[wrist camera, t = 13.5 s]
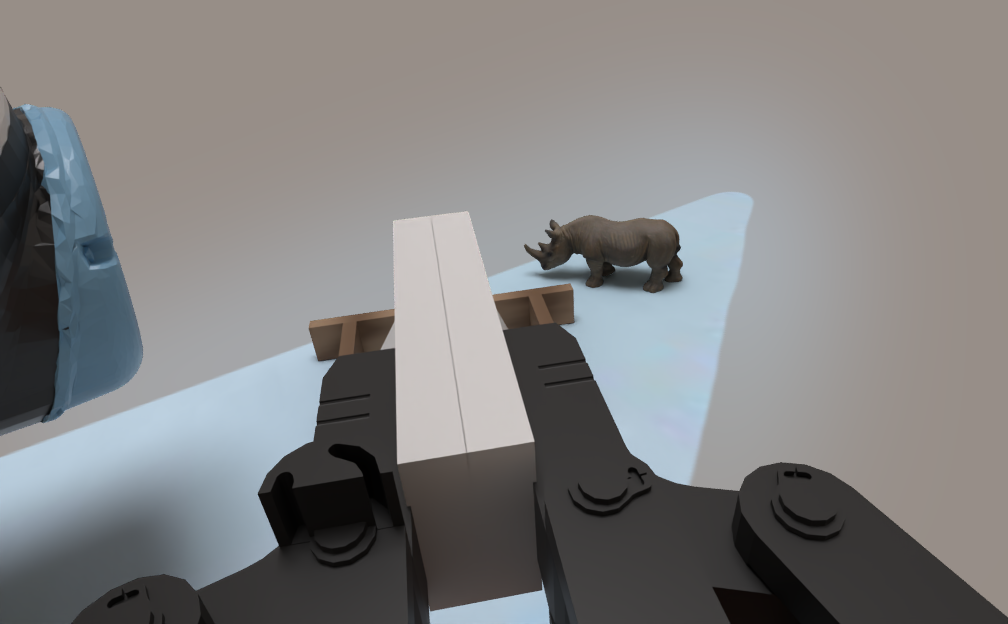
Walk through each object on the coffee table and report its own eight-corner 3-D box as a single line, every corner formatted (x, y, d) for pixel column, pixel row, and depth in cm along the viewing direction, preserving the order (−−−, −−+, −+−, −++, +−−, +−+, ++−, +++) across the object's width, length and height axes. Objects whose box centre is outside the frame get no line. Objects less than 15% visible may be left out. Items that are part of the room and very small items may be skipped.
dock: (296, 483, 36) (282, 446, 34) (319, 353, 47) (310, 321, 46) (625, 428, 38) (626, 390, 36) (570, 316, 49) (570, 283, 47)
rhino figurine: (531, 264, 58) (528, 204, 54) (682, 273, 54) (688, 210, 51) (521, 285, 54) (516, 222, 51) (680, 296, 50) (687, 230, 47)
